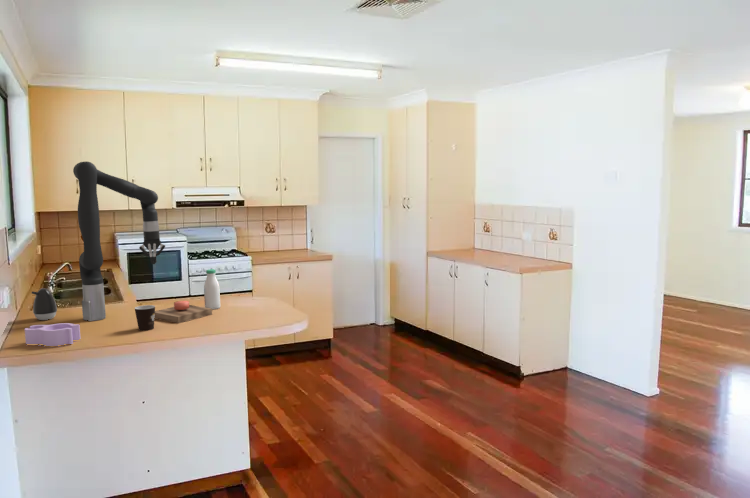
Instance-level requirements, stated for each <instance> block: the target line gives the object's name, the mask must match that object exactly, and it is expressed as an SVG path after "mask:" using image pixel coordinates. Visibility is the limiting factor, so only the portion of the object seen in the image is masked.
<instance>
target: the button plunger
mask: <svg viewBox="0 0 750 498" xmlns="http://www.w3.org/2000/svg"><path fill="white" fill-rule="evenodd" d="M189 305H190V301H189V300H179V301H175V302H173V307H174V309H175V310H184V309H188V308H189Z"/></svg>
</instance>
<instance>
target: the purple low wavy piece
mask: <svg viewBox="0 0 750 498" xmlns="http://www.w3.org/2000/svg"><path fill="white" fill-rule="evenodd" d="M24 339H25V345H26V344H43V345H46V346H58V345H64V344H73V345H74V341H73V340H79V339H81V326H80V324H75V323H71V322H70V323H69V322H65V323H64V322H63V323H62V322H61V323H54V324H53V323H52V324H33V325H29V327H25V328H24ZM81 340H82V339H81ZM58 347H59V346H58Z"/></svg>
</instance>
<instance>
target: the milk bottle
mask: <svg viewBox="0 0 750 498" xmlns="http://www.w3.org/2000/svg"><path fill="white" fill-rule="evenodd" d="M205 272H206V279H205V282H204V283H203V294H204V296H203V297H204V299H203V300H204V307H205V308H211V309H212V310H218V309H220V308H221V295H220V293H221V291H220V284H219V283H220V282H219V281H218V279H217V277H216V273H217V271H216V269H215V268H214V269H206V271H205Z"/></svg>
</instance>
